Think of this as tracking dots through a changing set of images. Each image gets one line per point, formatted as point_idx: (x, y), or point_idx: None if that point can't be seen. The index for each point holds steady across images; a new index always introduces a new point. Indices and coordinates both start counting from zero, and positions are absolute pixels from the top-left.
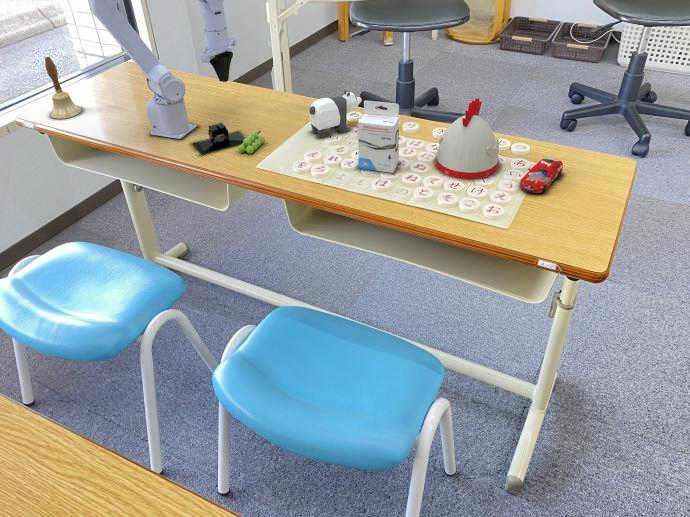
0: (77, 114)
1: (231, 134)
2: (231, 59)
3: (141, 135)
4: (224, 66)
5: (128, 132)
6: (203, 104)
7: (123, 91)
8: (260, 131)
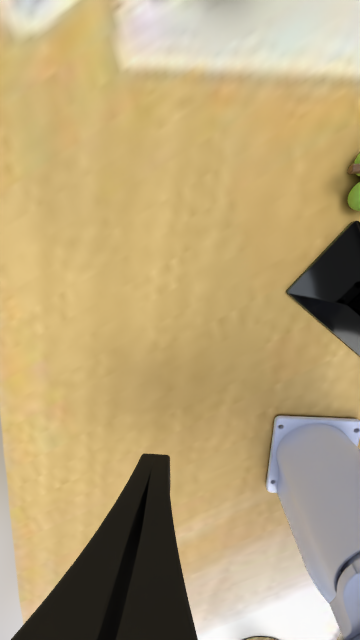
0: (267, 638)
1: (326, 294)
2: (19, 633)
3: None
4: (181, 602)
5: None
6: None
7: None
8: (355, 164)
